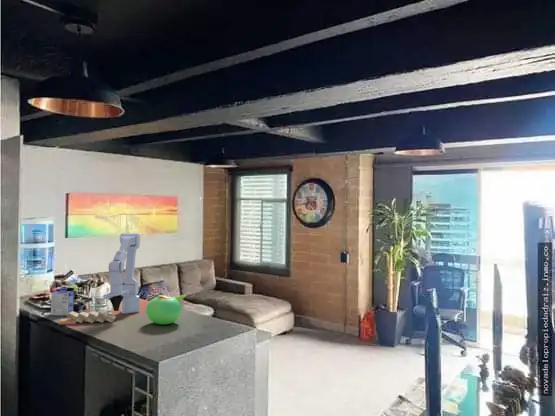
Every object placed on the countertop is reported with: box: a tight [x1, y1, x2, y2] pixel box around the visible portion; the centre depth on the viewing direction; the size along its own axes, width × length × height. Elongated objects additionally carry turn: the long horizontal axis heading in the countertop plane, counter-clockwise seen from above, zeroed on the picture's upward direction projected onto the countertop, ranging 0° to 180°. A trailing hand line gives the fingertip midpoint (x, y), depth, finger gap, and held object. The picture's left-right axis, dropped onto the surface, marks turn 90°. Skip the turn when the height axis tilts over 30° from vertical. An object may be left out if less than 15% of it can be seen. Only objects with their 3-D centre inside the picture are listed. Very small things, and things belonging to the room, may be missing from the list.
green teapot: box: [145, 294, 187, 325], centre depth 210 cm, size 18×17×15 cm
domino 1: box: [58, 317, 79, 325], centre depth 211 cm, size 2×5×8 cm
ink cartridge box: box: [50, 286, 74, 316], centre depth 227 cm, size 10×6×14 cm, turn 89°
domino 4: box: [88, 310, 106, 323], centre depth 213 cm, size 2×5×8 cm
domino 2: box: [66, 310, 87, 324], centre depth 212 cm, size 2×5×8 cm
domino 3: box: [78, 311, 96, 324], centre depth 212 cm, size 2×5×8 cm
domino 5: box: [98, 309, 117, 323], centre depth 213 cm, size 2×5×8 cm
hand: (116, 310), depth 214 cm, fingers closed
